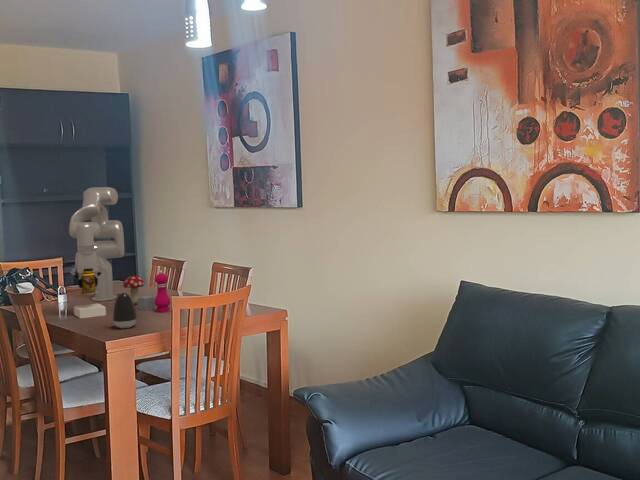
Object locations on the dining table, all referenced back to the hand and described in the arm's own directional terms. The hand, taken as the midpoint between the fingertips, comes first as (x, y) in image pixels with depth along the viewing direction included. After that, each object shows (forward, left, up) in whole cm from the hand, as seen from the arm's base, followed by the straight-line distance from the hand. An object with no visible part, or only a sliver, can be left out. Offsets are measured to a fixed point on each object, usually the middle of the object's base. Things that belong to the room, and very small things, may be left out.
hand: (88, 286), depth 344 cm
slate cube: (+3, +27, -14) cm, 31 cm away
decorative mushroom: (-13, +26, -14) cm, 32 cm away
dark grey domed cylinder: (+40, +5, -14) cm, 43 cm away
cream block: (0, 0, -14) cm, 14 cm away
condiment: (0, 0, -3) cm, 3 cm away
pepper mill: (+15, +31, -14) cm, 37 cm away
